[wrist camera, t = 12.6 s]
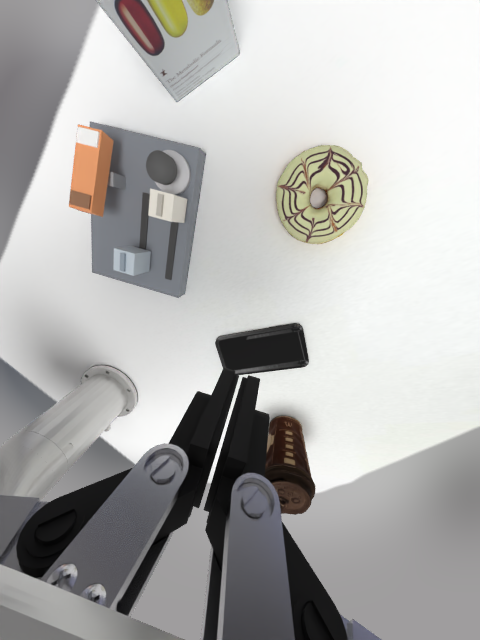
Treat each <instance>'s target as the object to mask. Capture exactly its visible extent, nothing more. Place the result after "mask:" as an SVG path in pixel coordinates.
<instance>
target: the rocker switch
mask: <svg viewBox="0 0 480 640" xmlns="http://www.w3.org/2000/svg"><path fill="white" fill-rule="evenodd" d="M113 142H114V141H113V140H112V139H111V138H110V137H109V136H108V135H107V134H106V133H104V132H103V131H102V130H99V129H95V128H91V127H86V126H82V125H78V129H77V138H76V147H75V156H74V165H73V174H72V183H71V192H70V201H69V207H71V208H74V209H77V210H80V211H83V212H86V213H90V214H93V215H97V216H101V217H103V213H104V206H105V198H106V191H107V184H108V177H109V170H110V163H111V156H112V149H113Z"/></svg>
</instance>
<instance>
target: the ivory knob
mask: <svg viewBox="0 0 480 640" xmlns="http://www.w3.org/2000/svg"><path fill="white" fill-rule="evenodd" d="M186 206H187V199H186V198H183V197H180V196H177V195H174V194H170V193H166V192H162V191H158V190H154V189H151V188H150V199H149V213H148V216H151V217H155V218H159V219H162V220H166V221H170V222H179V223H184V221H185V214H186Z"/></svg>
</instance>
